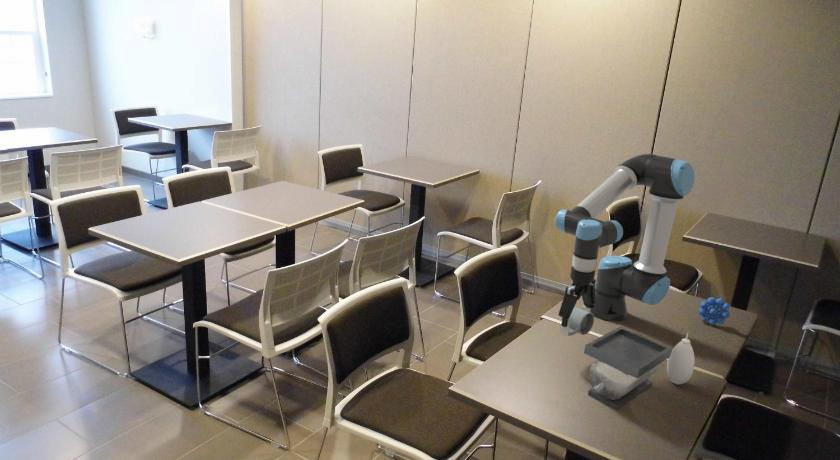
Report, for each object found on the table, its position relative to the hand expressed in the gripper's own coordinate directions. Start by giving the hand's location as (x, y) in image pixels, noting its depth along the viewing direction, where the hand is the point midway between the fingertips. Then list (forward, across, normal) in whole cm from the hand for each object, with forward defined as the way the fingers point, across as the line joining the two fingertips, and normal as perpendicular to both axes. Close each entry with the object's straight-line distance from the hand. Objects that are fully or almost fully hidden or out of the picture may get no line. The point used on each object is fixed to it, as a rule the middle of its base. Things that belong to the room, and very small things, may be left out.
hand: (574, 329), depth 200 cm
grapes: (+12, -69, +19) cm, 73 cm away
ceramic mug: (+1, 0, 0) cm, 1 cm away
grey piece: (+11, +4, +21) cm, 24 cm away
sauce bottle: (+11, -15, +30) cm, 36 cm away
